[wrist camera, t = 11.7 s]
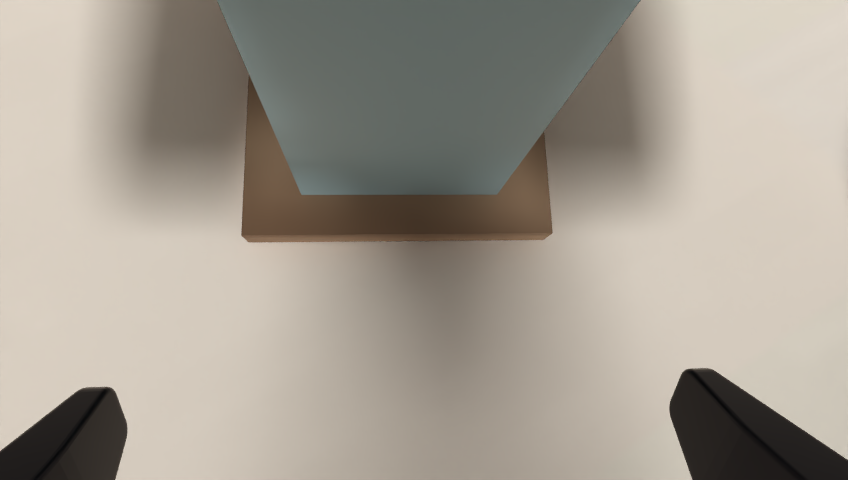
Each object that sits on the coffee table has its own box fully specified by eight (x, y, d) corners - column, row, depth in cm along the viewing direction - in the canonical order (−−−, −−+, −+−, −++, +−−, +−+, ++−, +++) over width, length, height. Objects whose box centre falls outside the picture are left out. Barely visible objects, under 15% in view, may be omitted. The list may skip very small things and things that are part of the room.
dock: (543, 239, 19) (610, 191, 13) (248, 242, 18) (195, 190, 12) (521, -34, 21) (571, -167, 16) (260, -45, 20) (220, -190, 15)
